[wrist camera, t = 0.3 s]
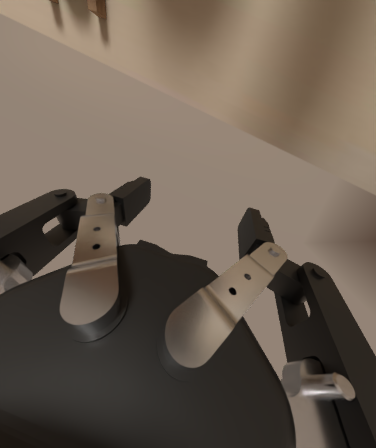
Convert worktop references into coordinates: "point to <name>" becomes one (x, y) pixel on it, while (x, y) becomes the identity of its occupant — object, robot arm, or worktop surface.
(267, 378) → the robot arm
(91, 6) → the guide track
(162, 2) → the worktop surface
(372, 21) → the worktop surface
